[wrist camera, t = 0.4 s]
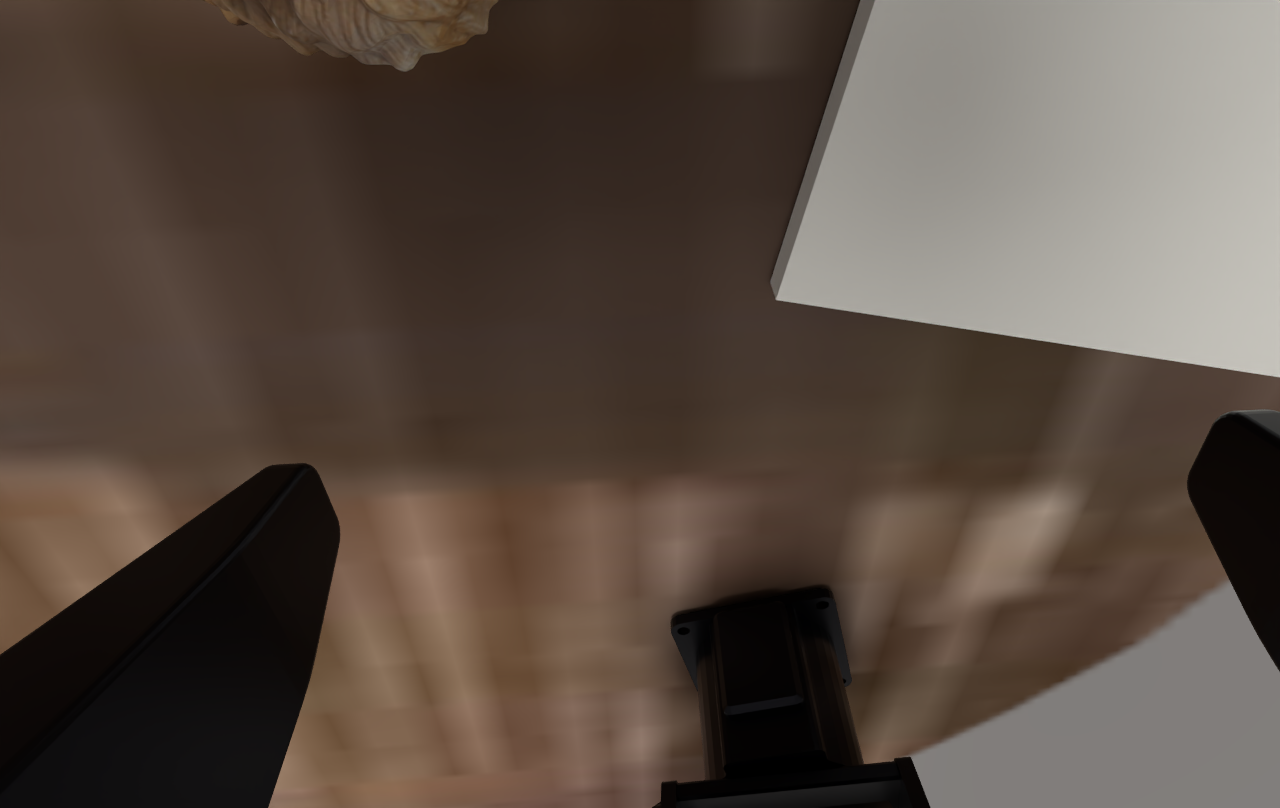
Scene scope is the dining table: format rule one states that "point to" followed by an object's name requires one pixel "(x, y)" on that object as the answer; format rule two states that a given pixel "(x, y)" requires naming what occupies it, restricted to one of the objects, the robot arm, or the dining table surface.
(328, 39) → the lion figurine
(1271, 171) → the board
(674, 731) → the dining table surface
